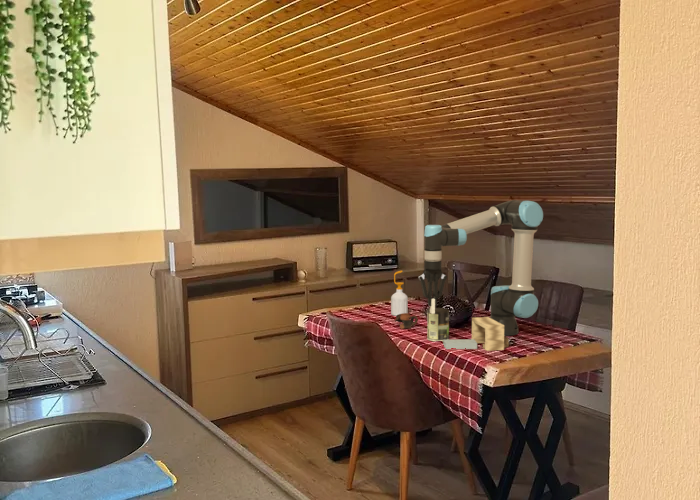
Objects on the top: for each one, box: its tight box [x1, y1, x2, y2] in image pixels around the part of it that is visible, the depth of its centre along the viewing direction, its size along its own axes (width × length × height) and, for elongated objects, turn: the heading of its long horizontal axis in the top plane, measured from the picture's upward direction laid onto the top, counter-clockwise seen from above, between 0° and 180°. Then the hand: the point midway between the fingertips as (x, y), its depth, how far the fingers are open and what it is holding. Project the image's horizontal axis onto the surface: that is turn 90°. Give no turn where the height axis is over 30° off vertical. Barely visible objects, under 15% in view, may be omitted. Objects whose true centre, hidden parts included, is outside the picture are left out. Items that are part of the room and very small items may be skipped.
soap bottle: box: [390, 270, 409, 317], centre depth 371 cm, size 9×9×25 cm
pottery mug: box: [394, 312, 419, 330], centre depth 342 cm, size 12×10×8 cm
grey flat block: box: [442, 338, 478, 350], centre depth 302 cm, size 14×7×3 cm, turn 91°
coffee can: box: [426, 307, 450, 342], centre depth 316 cm, size 10×10×14 cm
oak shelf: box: [471, 316, 510, 352], centre depth 304 cm, size 12×18×11 cm, turn 11°
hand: (432, 313), depth 297 cm, fingers closed
